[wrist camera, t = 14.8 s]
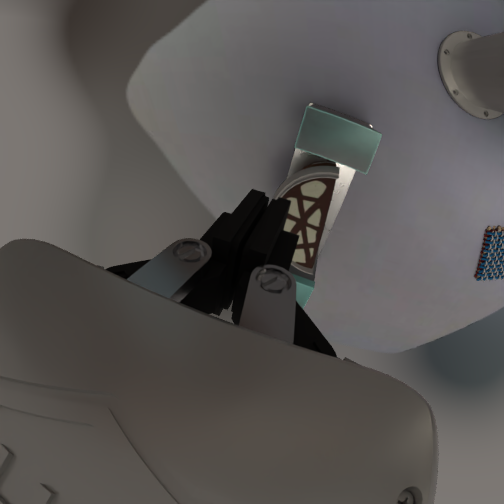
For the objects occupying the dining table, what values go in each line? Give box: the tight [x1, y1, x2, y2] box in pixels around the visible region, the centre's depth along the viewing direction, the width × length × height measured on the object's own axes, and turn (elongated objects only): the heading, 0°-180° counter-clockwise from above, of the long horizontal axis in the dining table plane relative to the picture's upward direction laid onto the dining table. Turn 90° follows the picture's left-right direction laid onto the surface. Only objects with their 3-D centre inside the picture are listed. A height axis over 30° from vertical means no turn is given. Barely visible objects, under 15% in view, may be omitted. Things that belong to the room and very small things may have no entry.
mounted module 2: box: [294, 104, 382, 175], centre depth 26 cm, size 7×4×9 cm, turn 76°
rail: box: [287, 102, 372, 259], centre depth 36 cm, size 8×23×2 cm, turn 166°
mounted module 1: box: [289, 248, 319, 309], centre depth 37 cm, size 7×4×9 cm, turn 76°
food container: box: [273, 161, 340, 275], centre depth 31 cm, size 12×6×10 cm, turn 173°
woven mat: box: [474, 226, 504, 282], centre depth 31 cm, size 10×11×2 cm
